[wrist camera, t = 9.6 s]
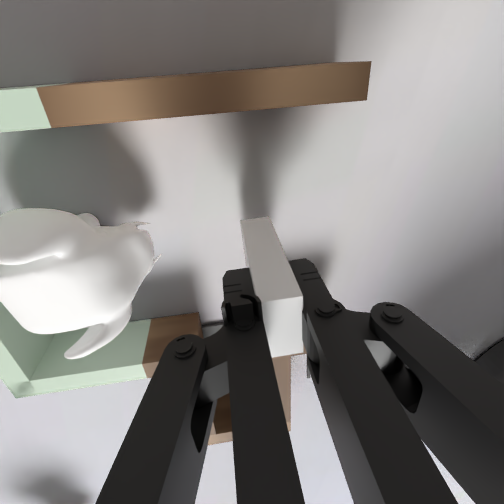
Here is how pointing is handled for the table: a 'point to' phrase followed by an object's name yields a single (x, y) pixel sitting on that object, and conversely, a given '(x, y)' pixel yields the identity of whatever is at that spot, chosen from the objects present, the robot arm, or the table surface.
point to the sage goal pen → (55, 345)
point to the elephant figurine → (71, 273)
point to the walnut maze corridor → (200, 103)
